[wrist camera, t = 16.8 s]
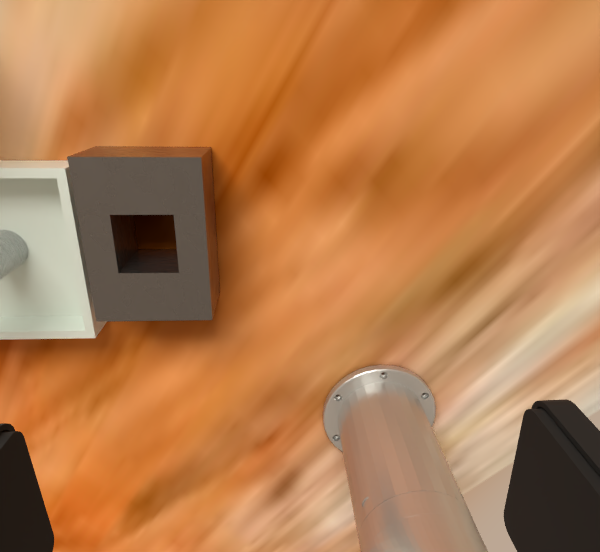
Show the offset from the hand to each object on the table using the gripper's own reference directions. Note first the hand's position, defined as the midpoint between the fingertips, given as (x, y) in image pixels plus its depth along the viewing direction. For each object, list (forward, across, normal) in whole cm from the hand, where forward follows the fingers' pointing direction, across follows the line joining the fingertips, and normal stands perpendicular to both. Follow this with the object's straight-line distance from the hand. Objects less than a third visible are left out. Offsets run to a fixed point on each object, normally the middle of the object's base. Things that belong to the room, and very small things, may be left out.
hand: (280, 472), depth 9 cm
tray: (+36, +25, +7) cm, 44 cm away
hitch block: (+36, +11, +5) cm, 38 cm away
